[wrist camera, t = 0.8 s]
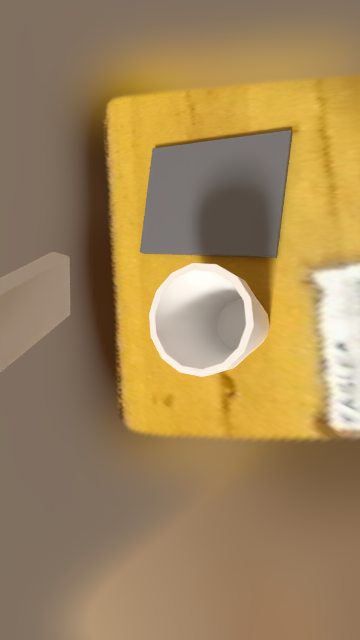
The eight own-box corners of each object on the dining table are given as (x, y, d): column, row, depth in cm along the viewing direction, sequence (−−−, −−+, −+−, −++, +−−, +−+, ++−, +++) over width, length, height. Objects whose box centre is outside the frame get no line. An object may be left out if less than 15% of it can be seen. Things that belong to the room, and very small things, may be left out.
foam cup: (192, 312, 43) (133, 302, 31) (254, 268, 40) (214, 240, 28) (230, 379, 40) (181, 396, 29) (300, 339, 37) (276, 339, 25)
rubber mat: (292, 133, 38) (291, 129, 38) (276, 257, 38) (275, 255, 38) (155, 151, 46) (152, 148, 46) (143, 253, 47) (139, 252, 46)
